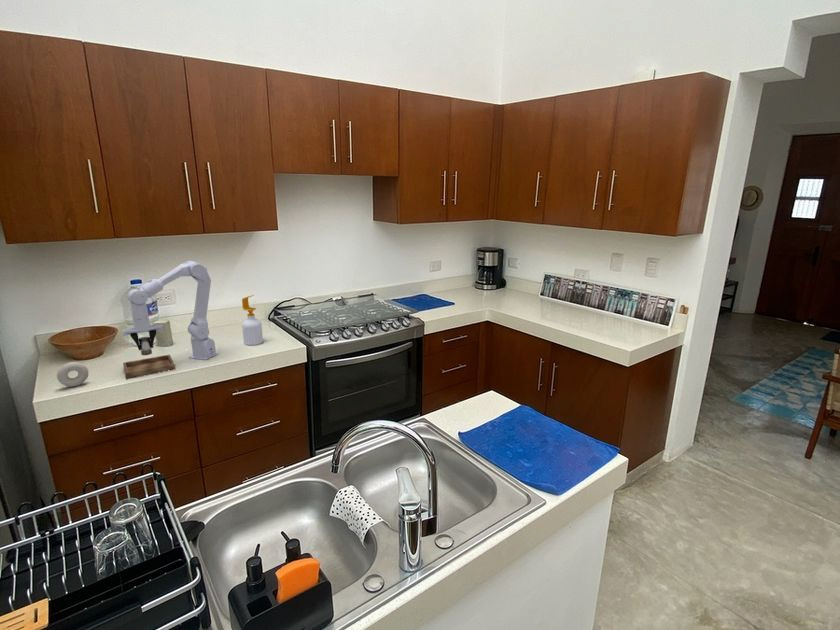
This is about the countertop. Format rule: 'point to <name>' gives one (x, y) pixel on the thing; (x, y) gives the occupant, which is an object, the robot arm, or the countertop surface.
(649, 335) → the countertop surface
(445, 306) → the countertop surface
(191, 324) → the robot arm
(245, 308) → the soap bottle
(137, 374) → the walnut tray
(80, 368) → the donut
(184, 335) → the countertop surface
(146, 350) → the steel shaker
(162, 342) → the skincare box
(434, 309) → the countertop surface
